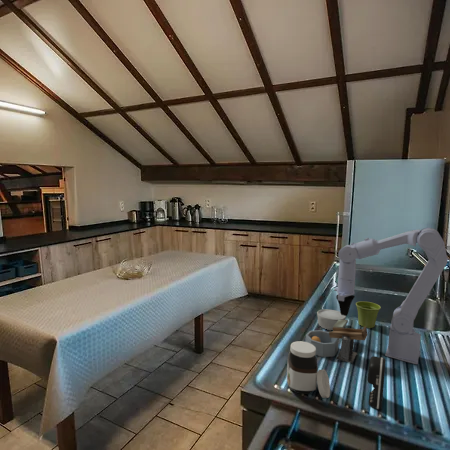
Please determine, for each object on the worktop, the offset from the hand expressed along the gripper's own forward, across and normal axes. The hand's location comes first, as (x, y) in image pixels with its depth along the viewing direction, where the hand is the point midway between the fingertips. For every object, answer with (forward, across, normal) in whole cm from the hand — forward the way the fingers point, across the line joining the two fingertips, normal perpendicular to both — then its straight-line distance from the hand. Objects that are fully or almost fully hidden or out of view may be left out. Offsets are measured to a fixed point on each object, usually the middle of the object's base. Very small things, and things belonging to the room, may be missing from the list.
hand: (344, 314), depth 118 cm
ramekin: (+10, -11, -7) cm, 17 cm away
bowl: (+10, +11, -4) cm, 16 cm away
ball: (+8, +11, -7) cm, 15 cm away
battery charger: (+10, +31, +15) cm, 36 cm away
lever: (+3, +5, +4) cm, 7 cm away
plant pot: (+10, -21, +5) cm, 24 cm away
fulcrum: (+10, +11, +4) cm, 16 cm away
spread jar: (+10, +36, -1) cm, 38 cm away
